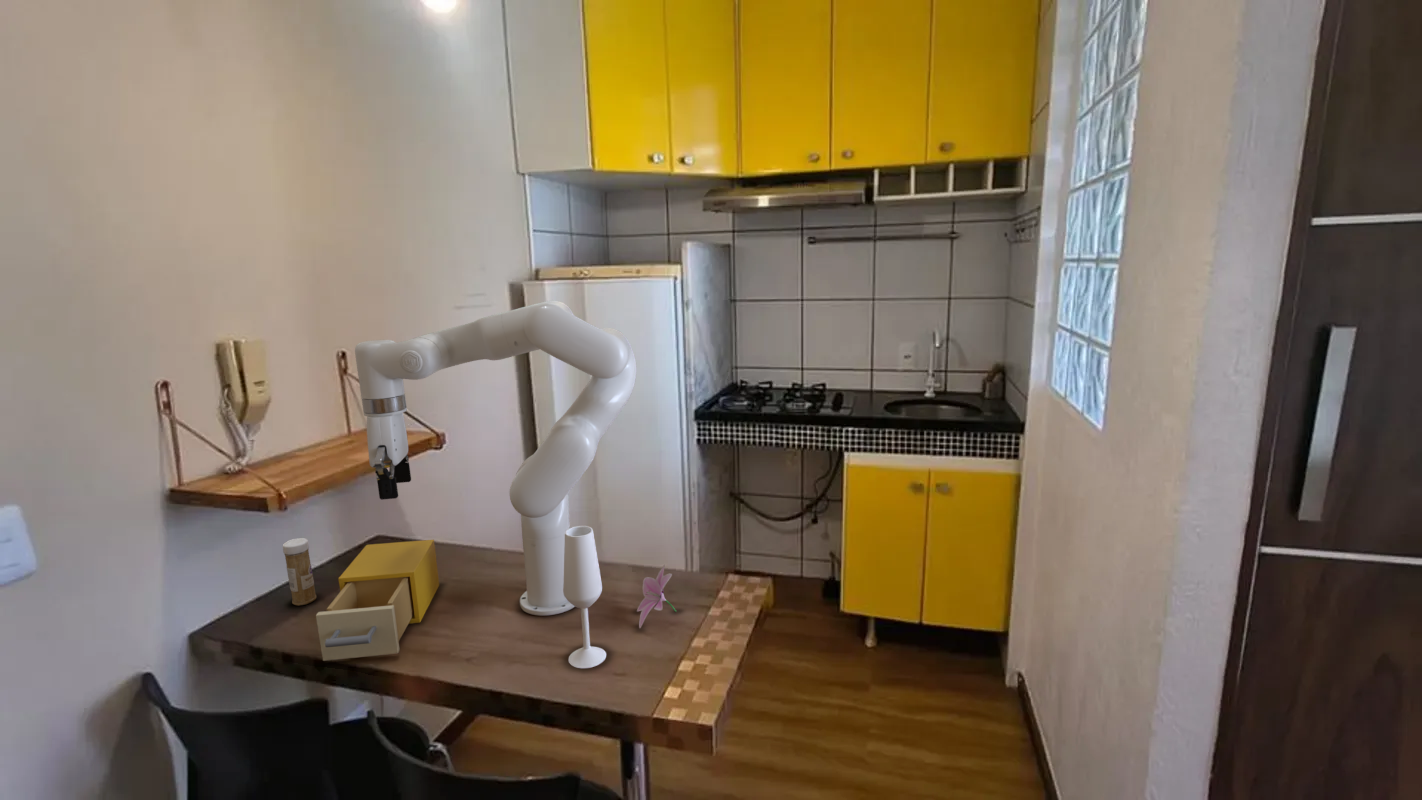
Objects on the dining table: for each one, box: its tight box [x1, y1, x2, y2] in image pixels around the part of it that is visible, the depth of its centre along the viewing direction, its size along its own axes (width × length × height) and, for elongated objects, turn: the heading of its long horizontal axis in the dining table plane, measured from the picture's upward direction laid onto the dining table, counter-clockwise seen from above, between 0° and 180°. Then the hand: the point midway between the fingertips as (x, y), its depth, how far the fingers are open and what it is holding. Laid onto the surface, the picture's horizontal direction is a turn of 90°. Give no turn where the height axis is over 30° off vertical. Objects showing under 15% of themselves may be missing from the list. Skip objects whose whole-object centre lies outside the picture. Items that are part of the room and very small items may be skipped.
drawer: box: [315, 577, 414, 662], centre depth 124 cm, size 19×13×9 cm, turn 9°
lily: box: [636, 564, 677, 629], centre depth 133 cm, size 12×12×10 cm
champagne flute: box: [563, 525, 607, 669], centre depth 118 cm, size 7×7×24 cm
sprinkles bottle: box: [282, 537, 317, 607], centre depth 141 cm, size 5×5×14 cm
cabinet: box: [338, 539, 440, 625], centre depth 139 cm, size 16×14×11 cm
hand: (396, 490), depth 132 cm, fingers open, 9 cm apart
